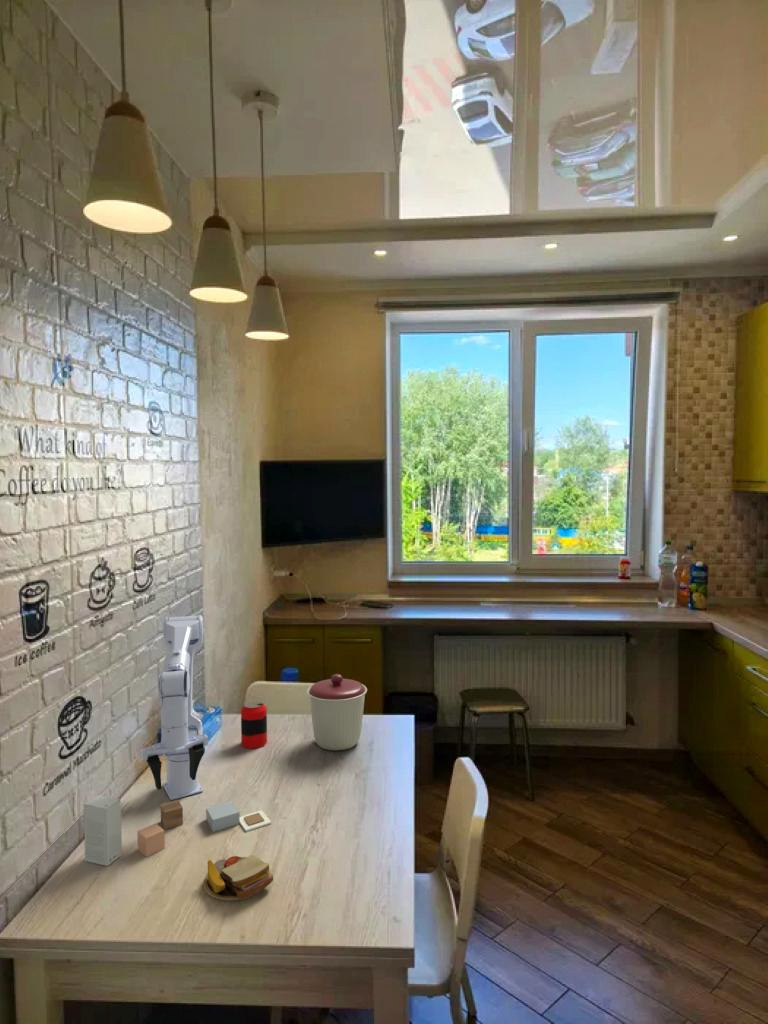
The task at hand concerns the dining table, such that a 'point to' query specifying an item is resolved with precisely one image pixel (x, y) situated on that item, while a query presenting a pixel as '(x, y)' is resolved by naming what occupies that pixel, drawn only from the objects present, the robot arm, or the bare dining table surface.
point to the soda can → (253, 725)
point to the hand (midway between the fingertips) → (175, 782)
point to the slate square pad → (222, 816)
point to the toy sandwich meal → (236, 878)
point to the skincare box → (102, 830)
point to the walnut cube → (171, 814)
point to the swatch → (254, 820)
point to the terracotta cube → (151, 839)
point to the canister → (337, 712)
